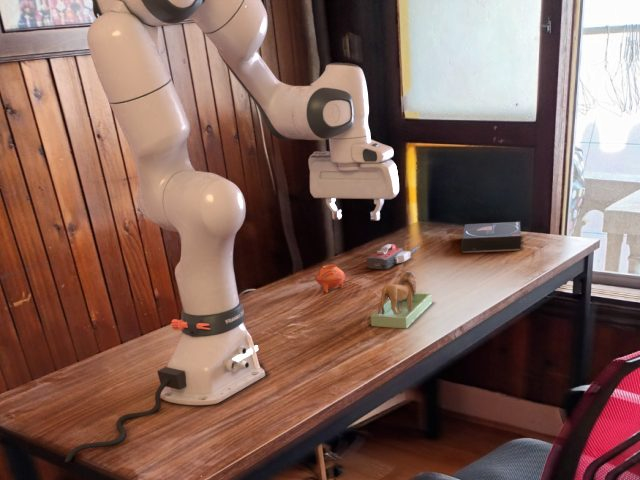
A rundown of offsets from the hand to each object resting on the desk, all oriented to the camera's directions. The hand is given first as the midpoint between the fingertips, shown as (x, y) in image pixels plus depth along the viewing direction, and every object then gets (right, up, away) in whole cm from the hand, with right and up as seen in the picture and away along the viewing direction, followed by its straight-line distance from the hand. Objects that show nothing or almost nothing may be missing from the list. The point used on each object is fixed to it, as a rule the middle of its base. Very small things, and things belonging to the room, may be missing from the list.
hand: (356, 219), depth 167 cm
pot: (-8, -6, +31) cm, 33 cm away
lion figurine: (+9, -19, +9) cm, 23 cm away
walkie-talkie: (+9, +7, +49) cm, 50 cm away
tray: (+11, -18, +11) cm, 24 cm away
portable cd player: (+38, +14, +56) cm, 69 cm away
